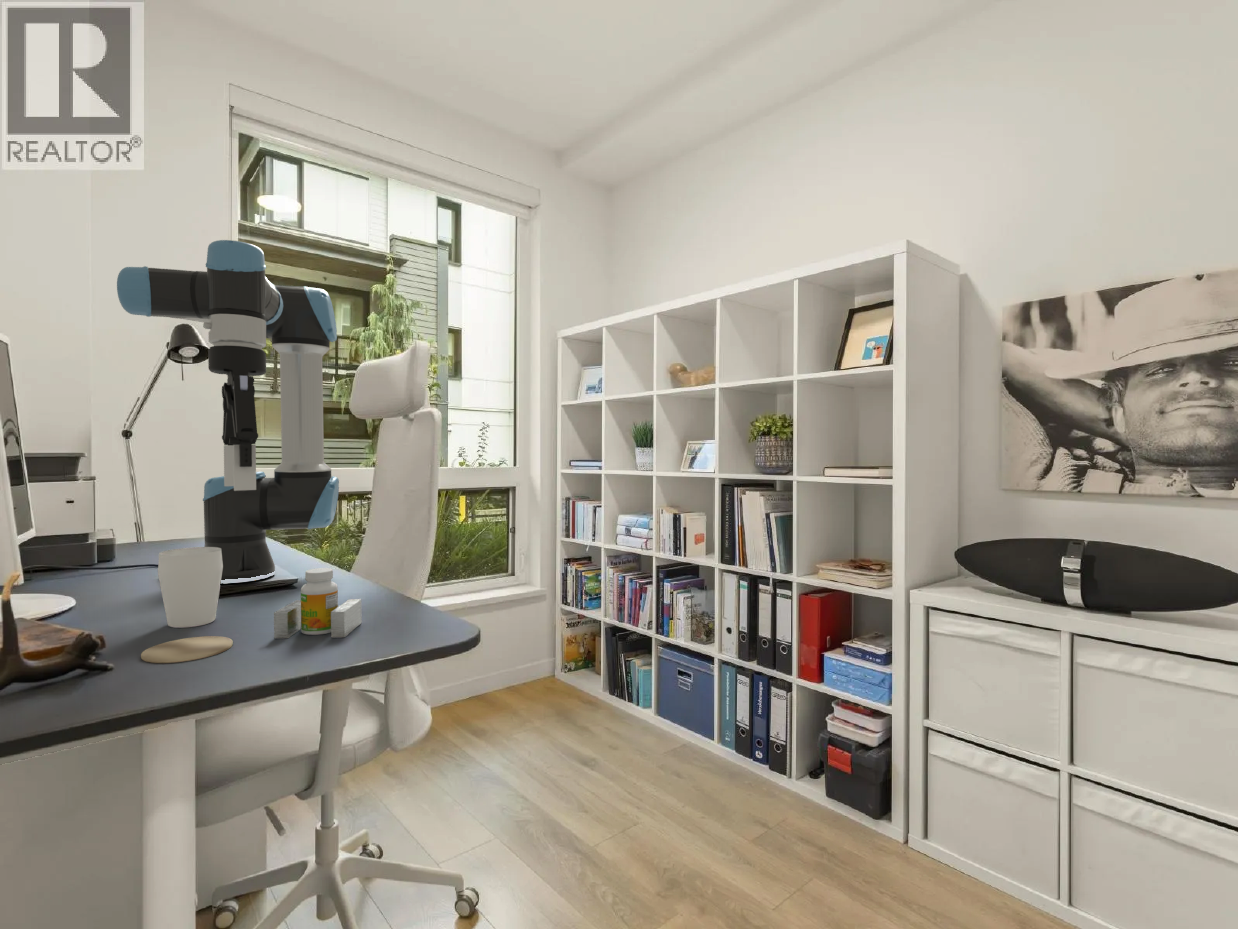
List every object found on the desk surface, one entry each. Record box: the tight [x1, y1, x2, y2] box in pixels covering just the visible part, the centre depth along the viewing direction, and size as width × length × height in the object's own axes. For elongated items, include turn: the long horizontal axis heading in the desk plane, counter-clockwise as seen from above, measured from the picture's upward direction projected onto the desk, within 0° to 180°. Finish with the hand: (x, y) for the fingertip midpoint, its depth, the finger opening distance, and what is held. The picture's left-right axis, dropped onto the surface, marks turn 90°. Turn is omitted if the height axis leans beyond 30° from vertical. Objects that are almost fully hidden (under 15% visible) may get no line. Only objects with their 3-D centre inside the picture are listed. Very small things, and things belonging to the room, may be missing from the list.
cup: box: [157, 546, 223, 629], centre depth 107 cm, size 9×9×12 cm
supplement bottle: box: [300, 567, 339, 636], centre depth 103 cm, size 5×5×10 cm
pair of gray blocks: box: [273, 598, 363, 640], centre depth 103 cm, size 8×10×4 cm
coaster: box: [140, 635, 234, 664], centre depth 93 cm, size 11×11×1 cm
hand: (239, 488), depth 98 cm, fingers open, 13 cm apart
